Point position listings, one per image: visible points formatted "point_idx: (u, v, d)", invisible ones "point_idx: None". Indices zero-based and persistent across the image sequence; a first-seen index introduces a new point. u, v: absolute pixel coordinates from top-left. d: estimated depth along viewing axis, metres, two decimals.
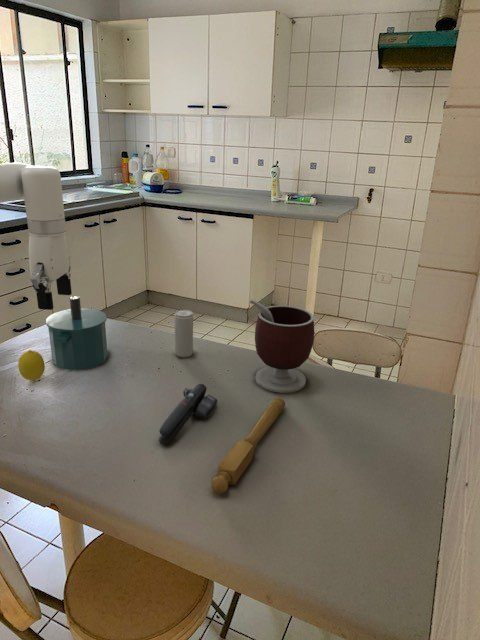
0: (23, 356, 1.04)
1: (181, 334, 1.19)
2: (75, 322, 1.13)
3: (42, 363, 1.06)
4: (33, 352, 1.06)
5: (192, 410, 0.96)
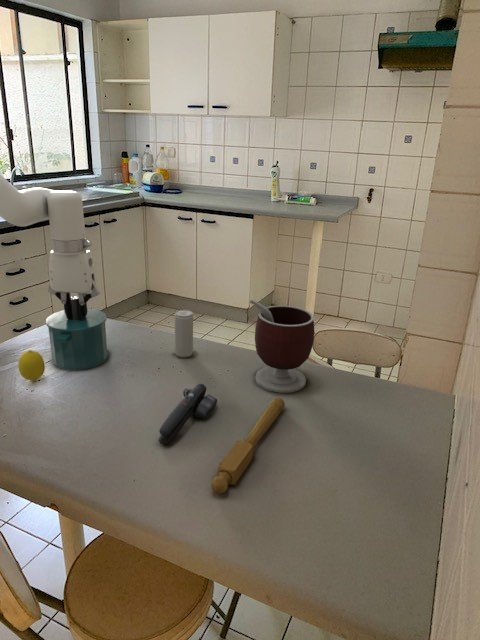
0: (23, 356, 1.04)
1: (181, 334, 1.19)
2: (75, 322, 1.13)
3: (42, 363, 1.06)
4: (33, 352, 1.06)
5: (192, 410, 0.96)
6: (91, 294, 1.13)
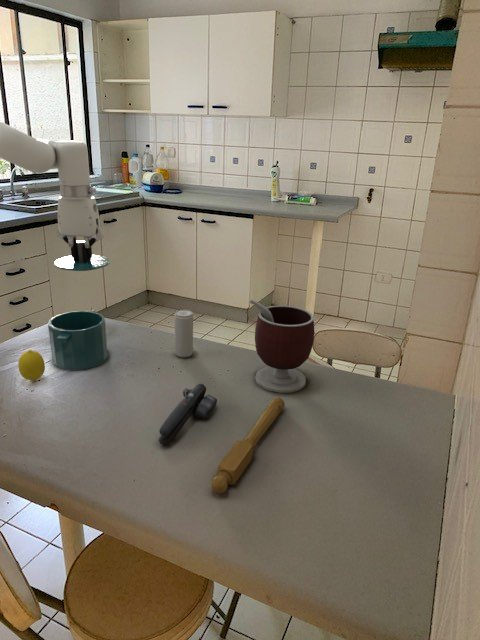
0: (23, 356, 1.04)
1: (181, 334, 1.19)
2: (81, 264, 1.24)
3: (42, 363, 1.06)
4: (33, 352, 1.06)
5: (192, 410, 0.96)
6: (95, 238, 1.24)
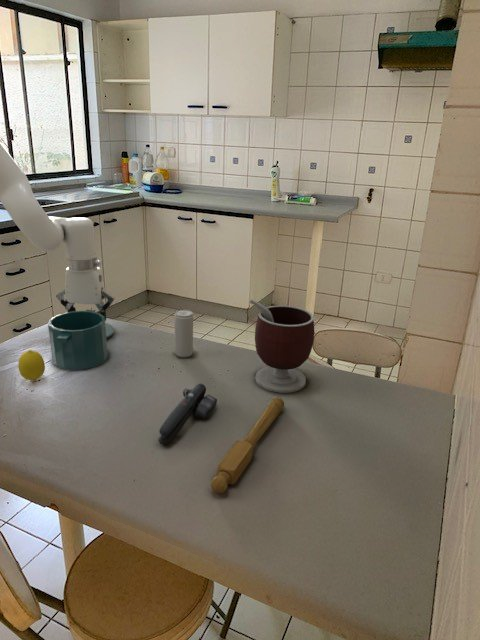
0: (23, 356, 1.04)
1: (181, 334, 1.19)
2: None
3: (42, 363, 1.06)
4: (33, 352, 1.06)
5: (192, 410, 0.96)
6: (108, 301, 1.30)
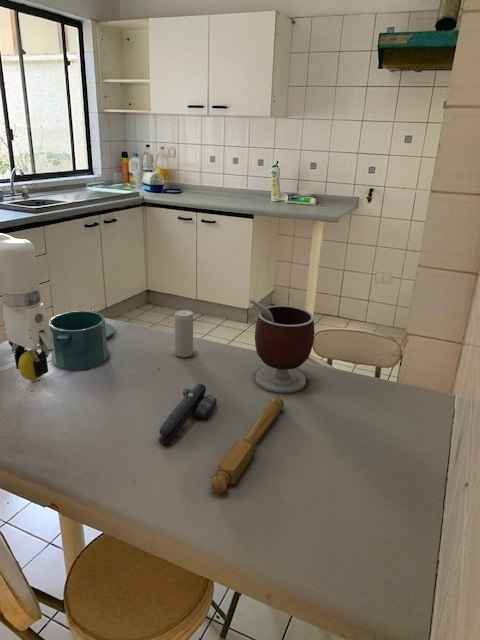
0: (23, 356, 1.04)
1: (181, 334, 1.19)
2: None
3: None
4: None
5: (192, 410, 0.96)
6: (44, 351, 1.02)
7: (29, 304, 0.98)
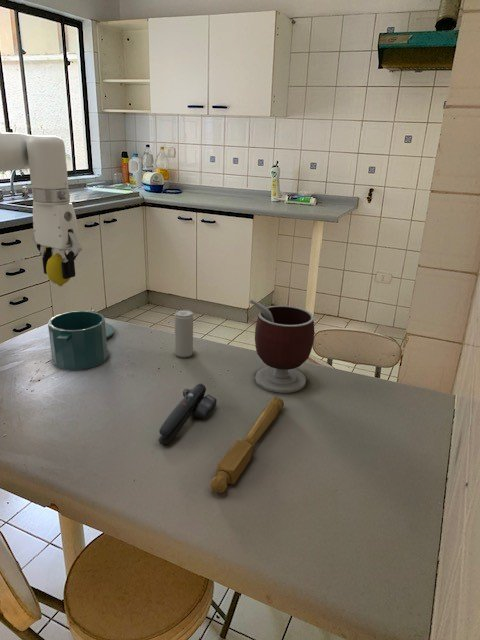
0: (51, 258, 1.06)
1: (181, 334, 1.19)
2: None
3: None
4: None
5: (192, 410, 0.96)
6: (73, 250, 1.03)
7: (59, 200, 0.99)
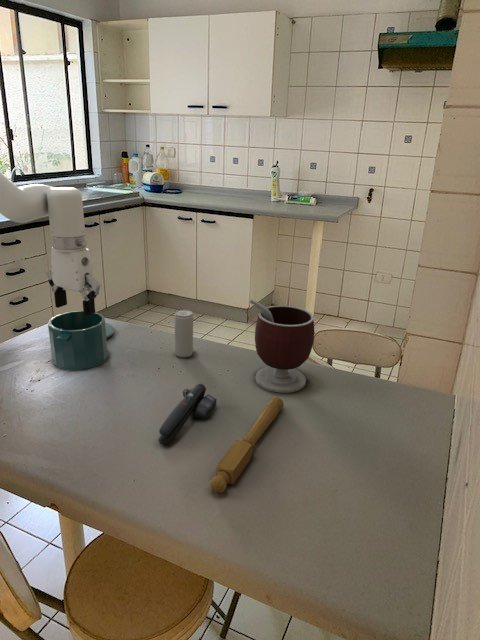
0: None
1: (181, 334, 1.19)
2: None
3: None
4: None
5: (192, 410, 0.96)
6: (93, 289, 1.09)
7: (77, 247, 1.06)
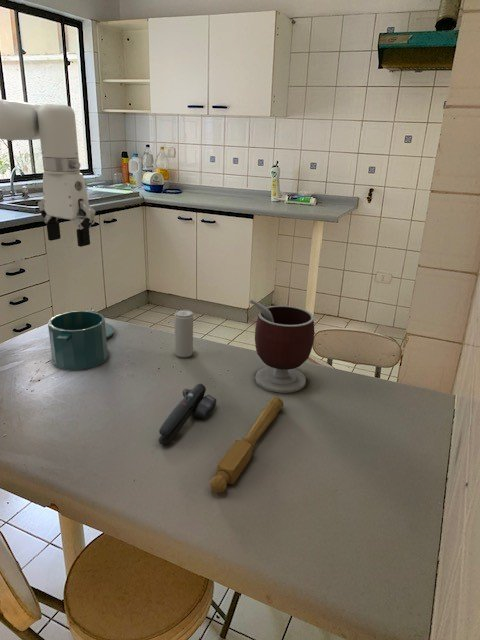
0: None
1: (181, 334, 1.19)
2: None
3: None
4: None
5: (191, 410, 0.96)
6: (87, 216, 1.02)
7: (69, 170, 1.00)
